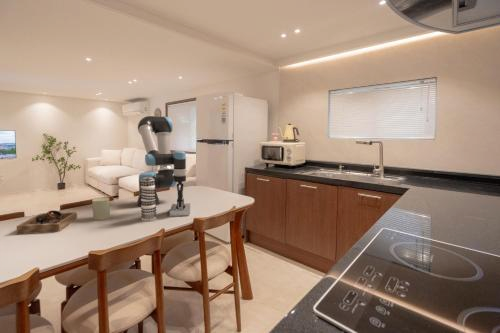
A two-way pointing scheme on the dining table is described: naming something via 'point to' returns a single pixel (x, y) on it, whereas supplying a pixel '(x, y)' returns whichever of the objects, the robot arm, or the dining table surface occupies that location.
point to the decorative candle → (148, 199)
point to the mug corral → (33, 225)
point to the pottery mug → (49, 217)
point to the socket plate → (180, 210)
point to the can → (101, 208)
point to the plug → (182, 203)
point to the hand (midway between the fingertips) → (180, 210)
